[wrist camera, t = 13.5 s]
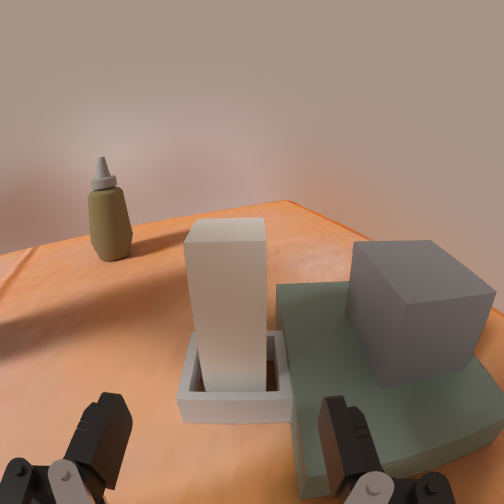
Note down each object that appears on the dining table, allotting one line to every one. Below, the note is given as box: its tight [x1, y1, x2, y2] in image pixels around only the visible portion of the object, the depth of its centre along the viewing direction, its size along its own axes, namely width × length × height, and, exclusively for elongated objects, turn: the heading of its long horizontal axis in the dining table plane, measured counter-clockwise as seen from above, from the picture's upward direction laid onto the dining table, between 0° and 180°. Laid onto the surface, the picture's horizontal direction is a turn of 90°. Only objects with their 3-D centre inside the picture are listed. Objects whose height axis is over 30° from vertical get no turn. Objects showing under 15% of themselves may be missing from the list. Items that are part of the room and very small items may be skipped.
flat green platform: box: [176, 240, 504, 499], centre depth 22 cm, size 24×22×11 cm
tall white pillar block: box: [183, 217, 267, 392], centre depth 21 cm, size 5×5×14 cm
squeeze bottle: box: [88, 157, 133, 261], centre depth 48 cm, size 8×8×18 cm
